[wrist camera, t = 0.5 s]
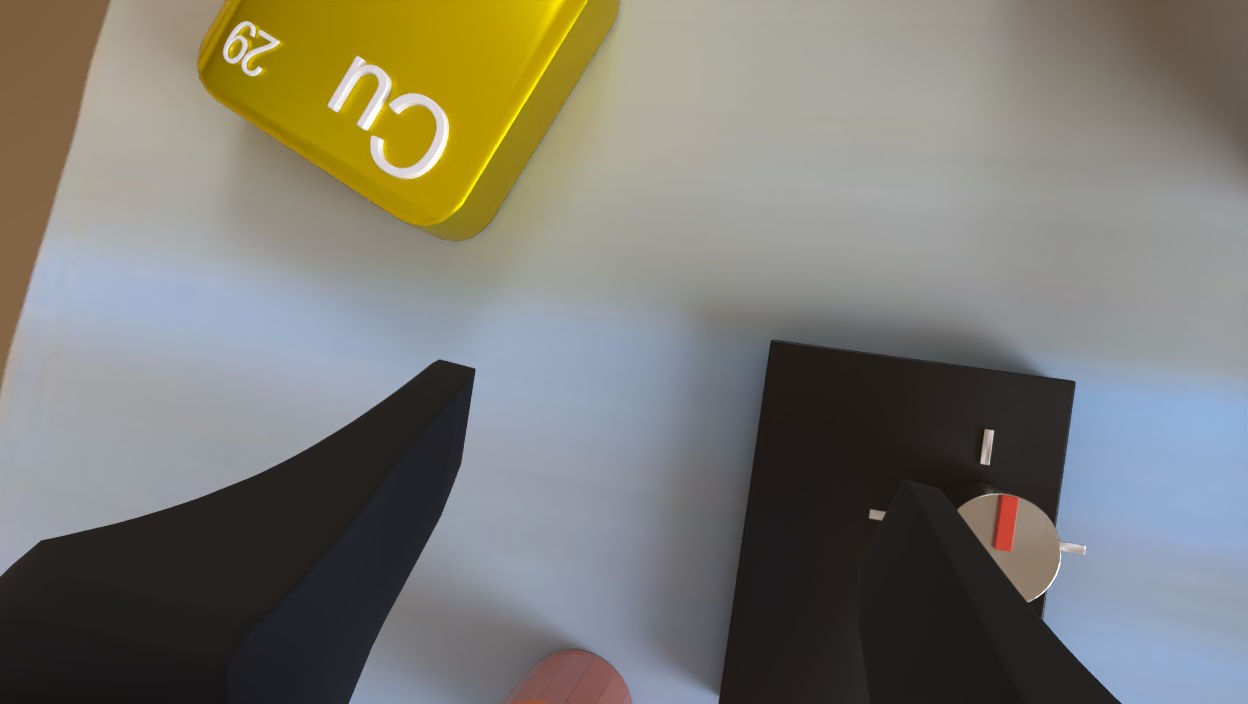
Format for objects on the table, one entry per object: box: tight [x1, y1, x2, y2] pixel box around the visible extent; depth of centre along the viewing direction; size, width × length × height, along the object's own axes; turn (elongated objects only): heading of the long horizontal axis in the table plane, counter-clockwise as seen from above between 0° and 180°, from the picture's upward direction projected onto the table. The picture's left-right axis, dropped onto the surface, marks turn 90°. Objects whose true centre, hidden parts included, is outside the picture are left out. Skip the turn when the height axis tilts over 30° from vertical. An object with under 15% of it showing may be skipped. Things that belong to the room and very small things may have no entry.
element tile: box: [197, 0, 620, 241], centre depth 39 cm, size 15×15×5 cm
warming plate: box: [719, 340, 1086, 704], centre depth 36 cm, size 16×13×3 cm
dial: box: [942, 481, 1061, 602], centre depth 32 cm, size 4×4×4 cm
